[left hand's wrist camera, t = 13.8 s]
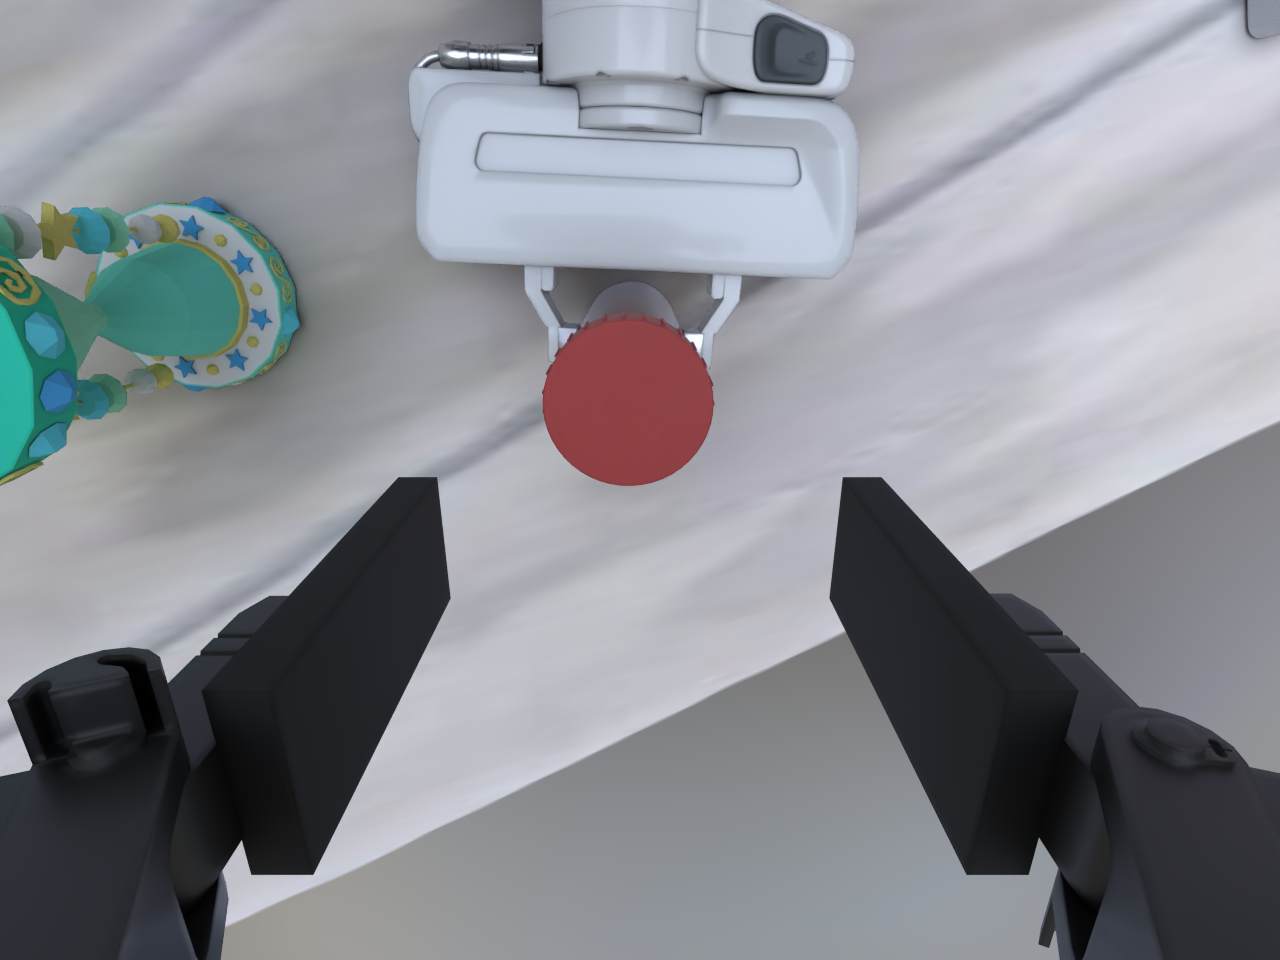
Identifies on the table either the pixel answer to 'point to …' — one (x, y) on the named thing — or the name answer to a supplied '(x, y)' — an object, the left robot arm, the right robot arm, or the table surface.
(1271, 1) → the decorative sign
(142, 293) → the decorative hourglass
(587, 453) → the lid
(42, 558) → the table surface
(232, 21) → the table surface
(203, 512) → the table surface
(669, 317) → the jar
